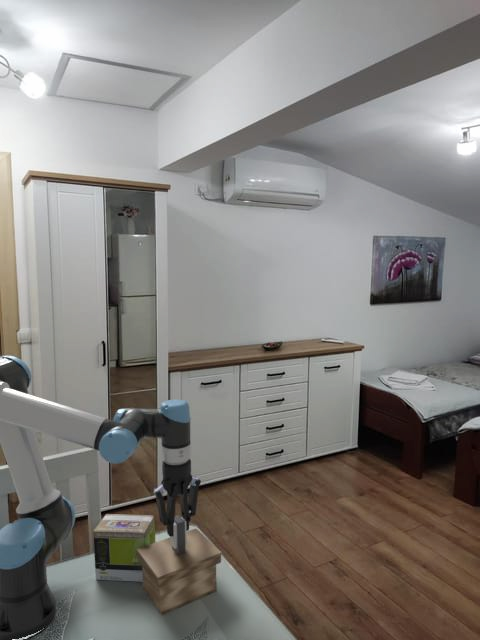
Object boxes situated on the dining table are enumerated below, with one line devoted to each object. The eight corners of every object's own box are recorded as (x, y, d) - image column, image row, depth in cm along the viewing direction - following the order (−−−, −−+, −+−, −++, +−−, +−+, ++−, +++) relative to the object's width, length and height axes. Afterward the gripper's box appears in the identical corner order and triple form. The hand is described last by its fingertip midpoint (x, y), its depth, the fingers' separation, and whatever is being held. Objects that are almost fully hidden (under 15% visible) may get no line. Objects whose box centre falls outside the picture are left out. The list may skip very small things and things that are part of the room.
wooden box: (161, 615, 118) (160, 578, 117) (143, 588, 128) (142, 554, 127) (216, 590, 127) (215, 556, 126) (195, 567, 137) (194, 535, 136)
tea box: (157, 561, 140) (155, 514, 138) (147, 583, 130) (145, 533, 129) (108, 558, 142) (106, 512, 140) (94, 580, 132) (92, 530, 130)
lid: (158, 588, 116) (156, 542, 114) (136, 558, 127) (135, 517, 126) (221, 562, 126) (221, 520, 124) (196, 537, 137) (195, 498, 136)
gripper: (155, 471, 116) (158, 561, 119) (208, 457, 125) (210, 541, 127) (143, 461, 123) (146, 546, 125) (195, 448, 131) (196, 529, 133)
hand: (178, 544), depth 126 cm, fingers closed on lid, 2 cm apart
